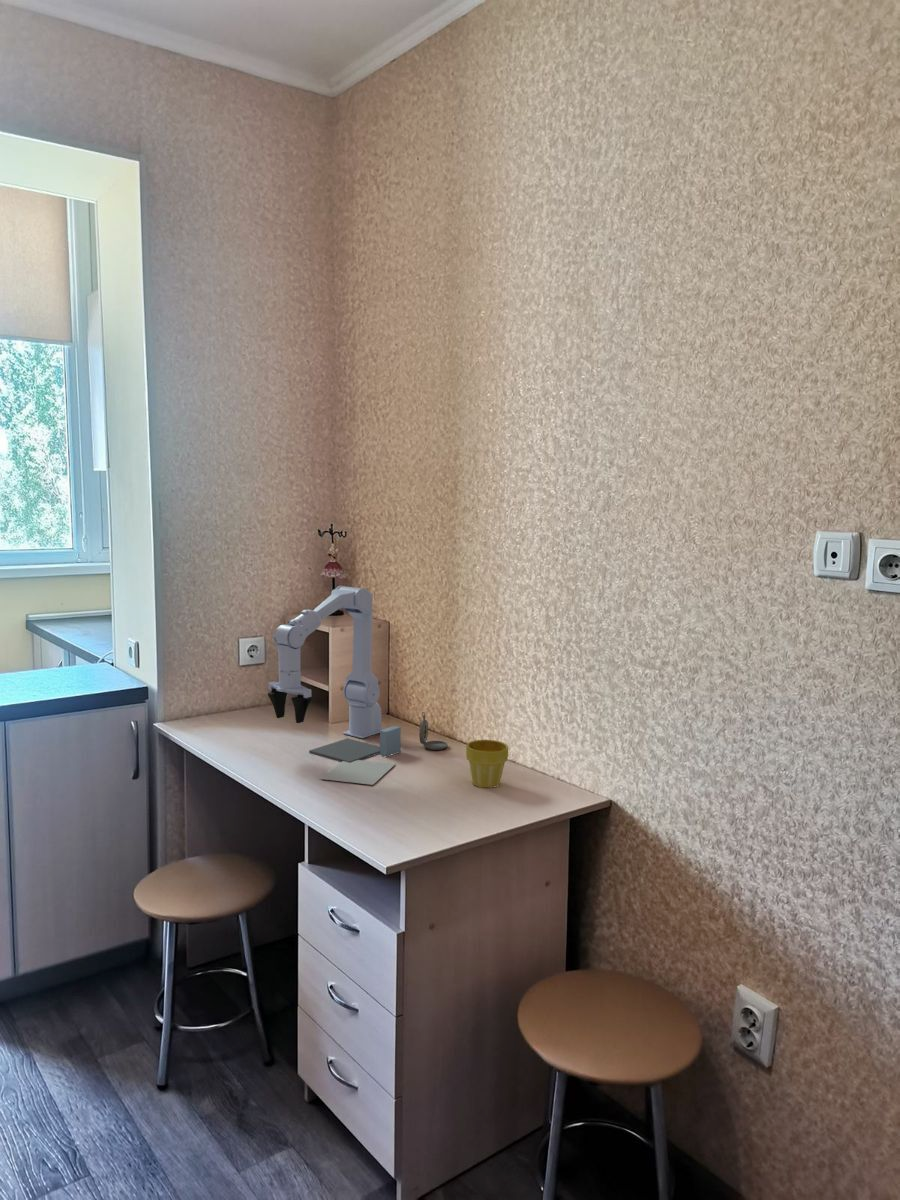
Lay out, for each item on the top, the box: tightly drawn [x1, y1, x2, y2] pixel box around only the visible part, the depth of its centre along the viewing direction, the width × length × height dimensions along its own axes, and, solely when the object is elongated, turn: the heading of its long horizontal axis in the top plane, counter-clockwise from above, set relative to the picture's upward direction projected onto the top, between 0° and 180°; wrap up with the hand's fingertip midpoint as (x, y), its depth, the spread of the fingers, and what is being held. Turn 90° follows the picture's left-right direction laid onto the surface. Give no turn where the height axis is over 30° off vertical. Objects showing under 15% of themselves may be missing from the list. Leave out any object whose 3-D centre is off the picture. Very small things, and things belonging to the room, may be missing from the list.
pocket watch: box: [418, 711, 448, 751], centre depth 242 cm, size 8×8×10 cm
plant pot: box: [465, 739, 509, 788], centre depth 213 cm, size 10×10×10 cm
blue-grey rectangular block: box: [379, 725, 402, 757], centre depth 236 cm, size 6×2×7 cm, turn 143°
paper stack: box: [320, 759, 396, 786], centre depth 215 cm, size 23×25×1 cm
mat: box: [308, 738, 380, 763], centre depth 237 cm, size 15×15×1 cm
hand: (290, 719), depth 231 cm, fingers open, 7 cm apart
